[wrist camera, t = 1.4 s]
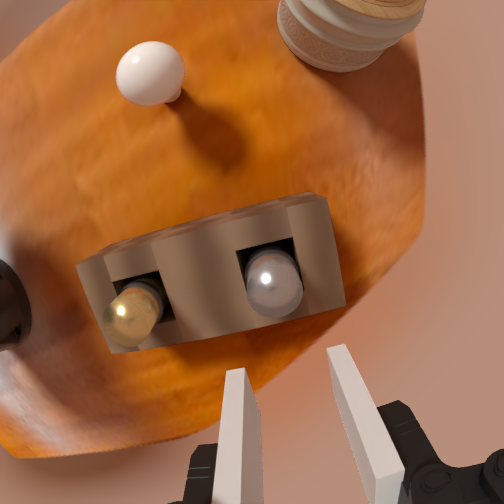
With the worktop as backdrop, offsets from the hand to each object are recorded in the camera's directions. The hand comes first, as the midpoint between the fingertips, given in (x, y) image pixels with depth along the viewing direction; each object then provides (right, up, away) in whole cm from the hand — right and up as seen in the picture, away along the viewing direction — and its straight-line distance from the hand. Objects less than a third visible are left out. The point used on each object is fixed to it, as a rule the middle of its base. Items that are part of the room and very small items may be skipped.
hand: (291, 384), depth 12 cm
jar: (+8, +32, +18) cm, 37 cm away
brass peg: (-12, +2, +19) cm, 22 cm away
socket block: (-6, +5, +24) cm, 25 cm away
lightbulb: (-11, +23, +20) cm, 32 cm away
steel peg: (0, +4, +18) cm, 19 cm away
